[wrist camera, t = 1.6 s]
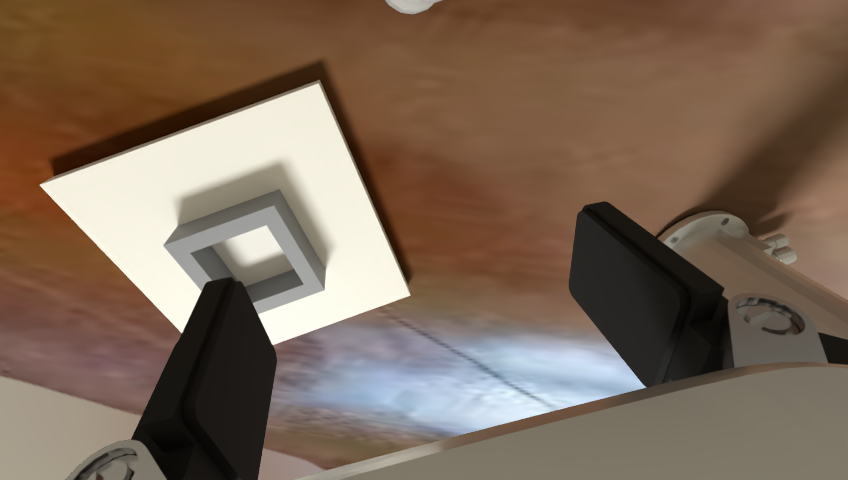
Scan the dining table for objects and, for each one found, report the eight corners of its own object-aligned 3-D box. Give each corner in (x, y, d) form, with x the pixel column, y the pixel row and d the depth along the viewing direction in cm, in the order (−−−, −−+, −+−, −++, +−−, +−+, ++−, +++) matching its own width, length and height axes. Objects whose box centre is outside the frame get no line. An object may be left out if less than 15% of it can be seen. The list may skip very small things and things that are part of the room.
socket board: (319, 79, 27) (316, 91, 23) (408, 285, 38) (415, 315, 34) (53, 176, 27) (8, 203, 23) (218, 354, 38) (205, 390, 34)
